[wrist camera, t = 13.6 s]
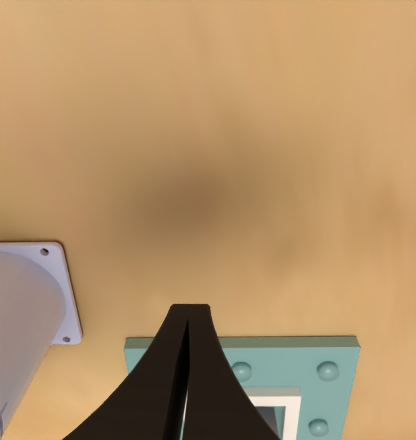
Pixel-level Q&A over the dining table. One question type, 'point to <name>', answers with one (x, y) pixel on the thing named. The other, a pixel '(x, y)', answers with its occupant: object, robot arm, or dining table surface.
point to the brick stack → (269, 417)
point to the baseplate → (288, 379)
